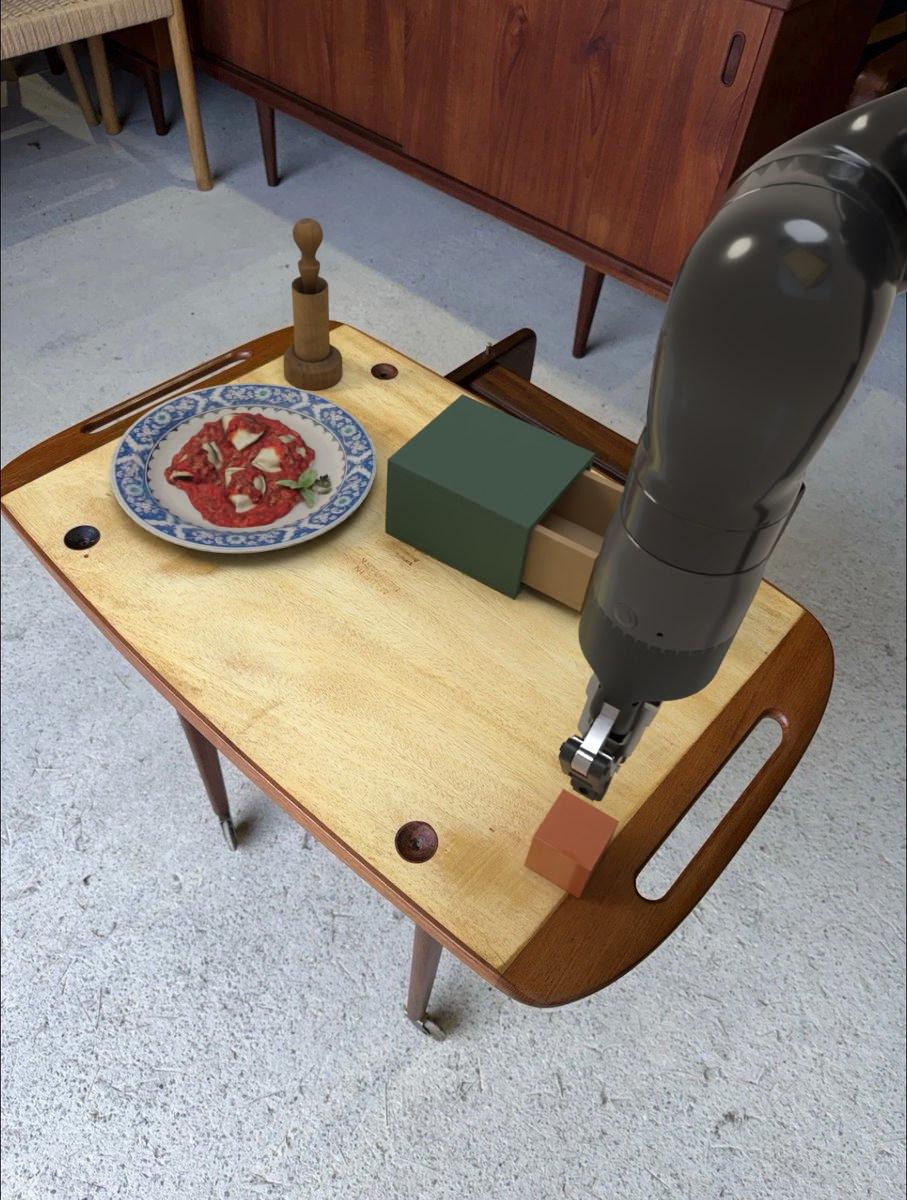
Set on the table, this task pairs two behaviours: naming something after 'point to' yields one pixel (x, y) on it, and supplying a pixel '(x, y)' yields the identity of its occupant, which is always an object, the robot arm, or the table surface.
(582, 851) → the block
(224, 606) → the table surface
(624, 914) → the table surface
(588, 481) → the drawer
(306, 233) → the mortar and pestle
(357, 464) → the ceramic plate
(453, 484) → the cabinet
